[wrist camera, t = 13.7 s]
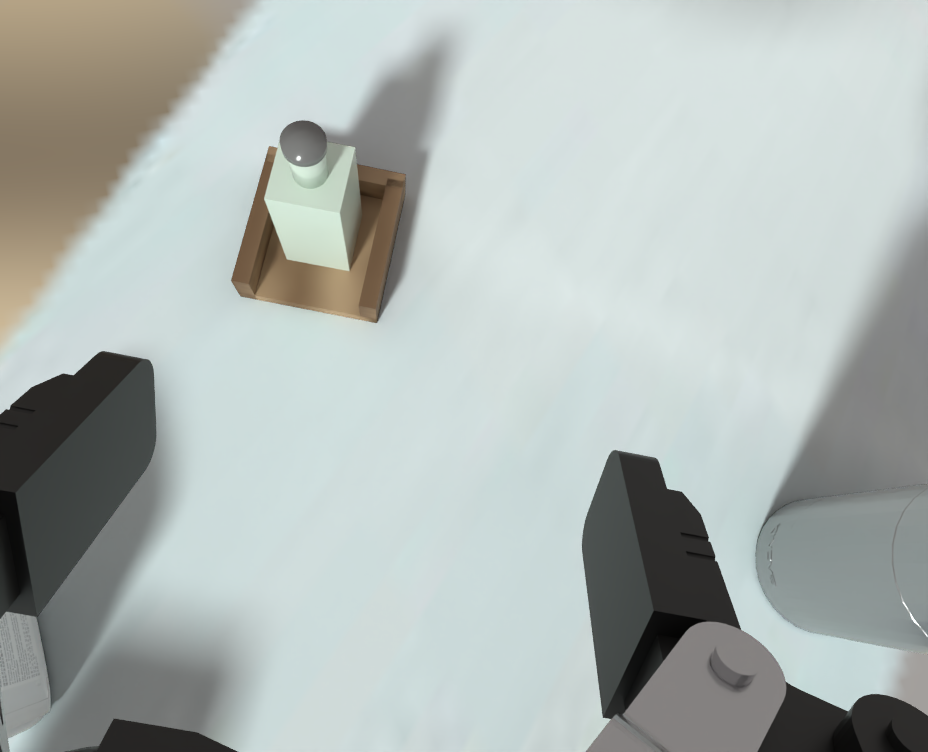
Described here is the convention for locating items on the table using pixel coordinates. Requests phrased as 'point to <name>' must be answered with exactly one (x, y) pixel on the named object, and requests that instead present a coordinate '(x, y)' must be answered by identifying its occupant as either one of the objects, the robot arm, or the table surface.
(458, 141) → the table surface
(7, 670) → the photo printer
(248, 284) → the rest
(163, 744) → the robot arm
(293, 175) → the bottle
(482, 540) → the table surface
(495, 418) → the table surface
